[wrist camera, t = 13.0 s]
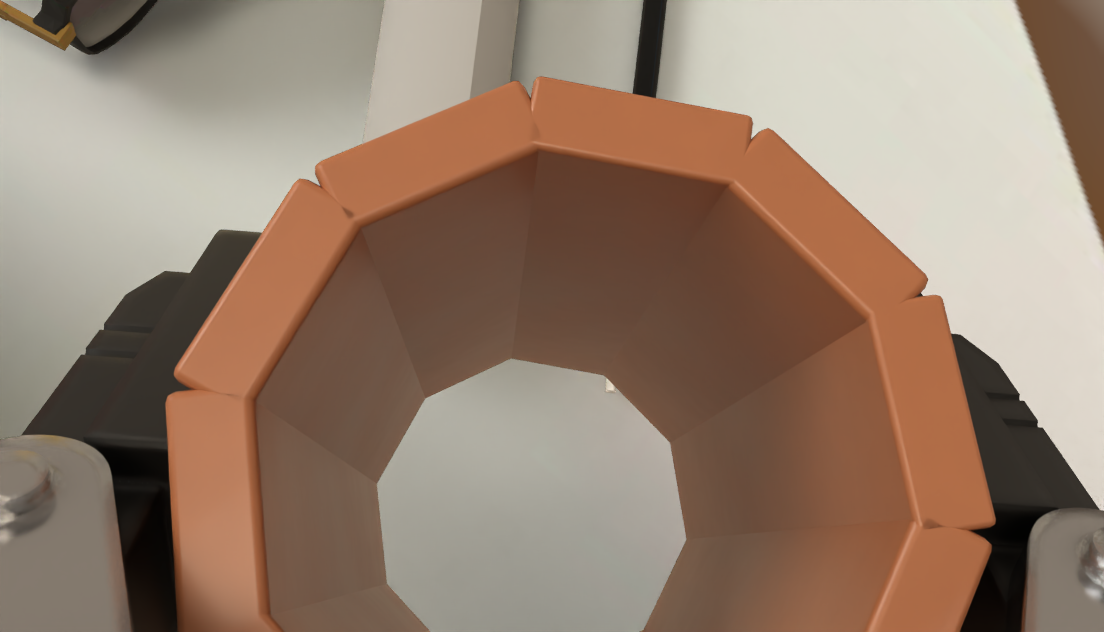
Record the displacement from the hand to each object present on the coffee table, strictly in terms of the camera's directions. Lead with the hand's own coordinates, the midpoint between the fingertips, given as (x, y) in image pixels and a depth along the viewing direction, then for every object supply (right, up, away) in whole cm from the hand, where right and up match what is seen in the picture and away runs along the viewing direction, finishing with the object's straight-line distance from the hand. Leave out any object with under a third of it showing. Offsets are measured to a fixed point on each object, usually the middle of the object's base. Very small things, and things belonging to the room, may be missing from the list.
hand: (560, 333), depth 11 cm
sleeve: (0, -3, +4) cm, 5 cm away
